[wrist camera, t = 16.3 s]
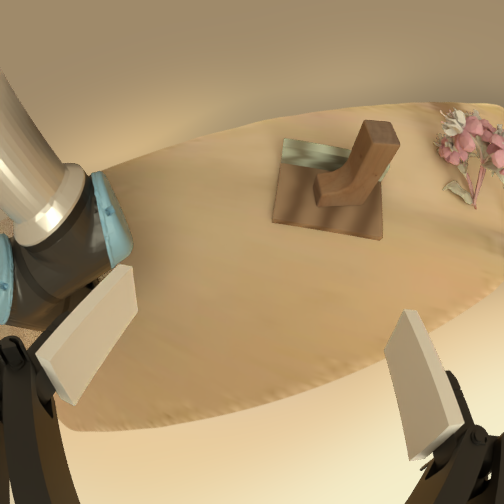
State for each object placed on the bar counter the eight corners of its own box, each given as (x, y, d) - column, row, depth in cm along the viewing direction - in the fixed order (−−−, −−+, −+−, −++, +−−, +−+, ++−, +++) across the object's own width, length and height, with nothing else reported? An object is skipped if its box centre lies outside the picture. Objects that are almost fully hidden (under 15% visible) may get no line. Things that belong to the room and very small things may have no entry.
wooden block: (316, 208, 49) (341, 141, 32) (312, 186, 51) (332, 116, 34) (362, 206, 49) (402, 145, 32) (357, 185, 51) (391, 120, 34)
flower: (495, 173, 53) (508, 92, 34) (501, 237, 44) (533, 147, 26) (432, 158, 64) (431, 76, 45) (425, 218, 55) (431, 122, 37)
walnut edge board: (272, 222, 50) (273, 204, 44) (281, 159, 54) (284, 138, 48) (379, 240, 49) (394, 226, 42) (377, 177, 53) (389, 159, 47)
